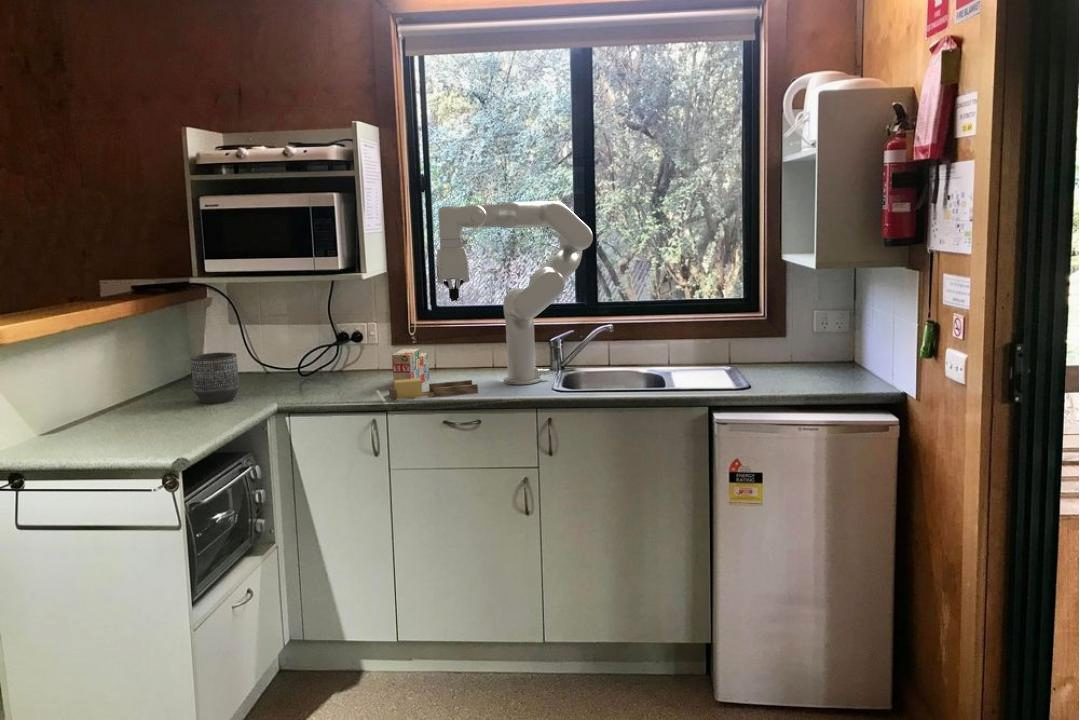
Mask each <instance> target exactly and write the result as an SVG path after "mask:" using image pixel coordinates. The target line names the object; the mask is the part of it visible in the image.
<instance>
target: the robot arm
mask: <svg viewBox="0 0 1080 720" xmlns="http://www.w3.org/2000/svg"><path fill="white" fill-rule="evenodd" d="M463 228H468V229H478V228H503V229H527V228H528V229H529V228H531V229H533V228H534V229H535V228H552V229H553V230H555V232H556V233H557V234H558V235H559V248H558V251H557V252H556V254H555V255H553V257H552V258H551V259H550V260H549V261H547V262H546V263H545V264H544V265H542V266H541V267H540V268H539V269H537V270H536V271H535V272H534V273H533V274H532V275H530V278H529V283H528V285H527V286H526V287H525V288H513V289H511V290H509V291H508V292H507V293H506V295H505V296H504V299H503V315H504V321H505V339H506V361H507V376H506V377H504V378H503V383H505V384H509V385H531V384H536V383H540V382H541V380H542V378H541V376H542V375H544V376H545V375H547V376H548V375H550V369H549V368H539V367H537V366H536V345H535V344H536V342H535V324H534V323H535V322H534V318H536V317H537V316H538V315H539V314H540V313H542V312H543V311H545V310H546V308H548V307H549V306H550V305H551V304H552V303H554V302H555V300H557V299H558V298H559V297H560V296H561V295H562V293H563V292H564V290H565V285H566V280H567V279H568V278H569V277H571V275H572V274H574V272H575V271H576V270H577V269H578V267H579V266H580V264H581V260H582V257H583V250H586V249H588V248H589V247H591V244H592V243H593V240H594V239H593V238H594V236H593V232H592V230H591V228H590V227H589V226H588V225H587V223H585V222H584V221H583V220H581V219H580V218H579V217H578V215H576V214H575V213H574V212H573V211H572V210H571V209H570V208H569V207H568V206H566V204H564V203H563V202H561V201H553V200H552V201H520V202H519V201H516V202H515V201H514V202H506V203H497V204H496V203H495V204H466V205H464V206H457V205H450V206H449V205H446V206H441V207H439V208H438V234H439V248H438V249H437V250H436V251H437V252H436V277H437V279H436V283H437V284H440V285H445V287H447V288H448V298H449V299H450V300H451V302H454V301H455V302H458V299H459V298H460V290H459V289H460V287H461V286H462V285H463V284H466V283H469V282H470V281H471V280H470V279H471V278H470V277H469V274H470V268H469V261H468V255H467V250H466V248H465V247H464V246H465V245H468V240H467V239H466V240H465V239H464V235H463ZM452 280H454V286H453V283H452Z"/></svg>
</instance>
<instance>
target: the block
mask: <svg viewBox="0 0 1080 720" xmlns="http://www.w3.org/2000/svg"><path fill="white" fill-rule="evenodd" d="M393 382H394V384H393V389H394V391H395V392H396V398H397V399H398V398H409V397H420V396H422V391H423V387H422V386H423V385H422V384H423V383H421V380H420V379H419V378H415V379H403V380H394V381H393Z"/></svg>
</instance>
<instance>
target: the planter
mask: <svg viewBox="0 0 1080 720" xmlns="http://www.w3.org/2000/svg"><path fill="white" fill-rule="evenodd" d="M190 369H191V377H192V390H193V392H194V394H195V396H196V397H197V398H198V399H199V401H200V402H201V403H202V404H204V405H205V404H206V405H216V404H218V405H219V404H225V403H229V402H232V401H234V399H235V398H236V395H237V393H238V391H239V389H240V377H239V367H238V356H237V353H235V352H225V351H224V352H210V353H209V352H208V353H202V354H197V355H193V356H190Z"/></svg>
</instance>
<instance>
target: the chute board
mask: <svg viewBox="0 0 1080 720" xmlns="http://www.w3.org/2000/svg"><path fill="white" fill-rule="evenodd" d="M478 385H479V384H475V383H474V384H473V380H472V379H468V380H467V379H466V380H457V381H445V382H434V383H432V382H431V383H428V390H427V391H424V390H422V396H420V397H409V398H398V399H397V398H396V392H395V391H394V387H392V386H391V387H390V386H389V387H388V396H389V397H390V398H391V399H392V401H403V400H412V399H423V398H425V399H427V398H434V397H435V398H436V397H443V396H457V395H468V394H469V395H470V394H477V393H479V387H478Z"/></svg>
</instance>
